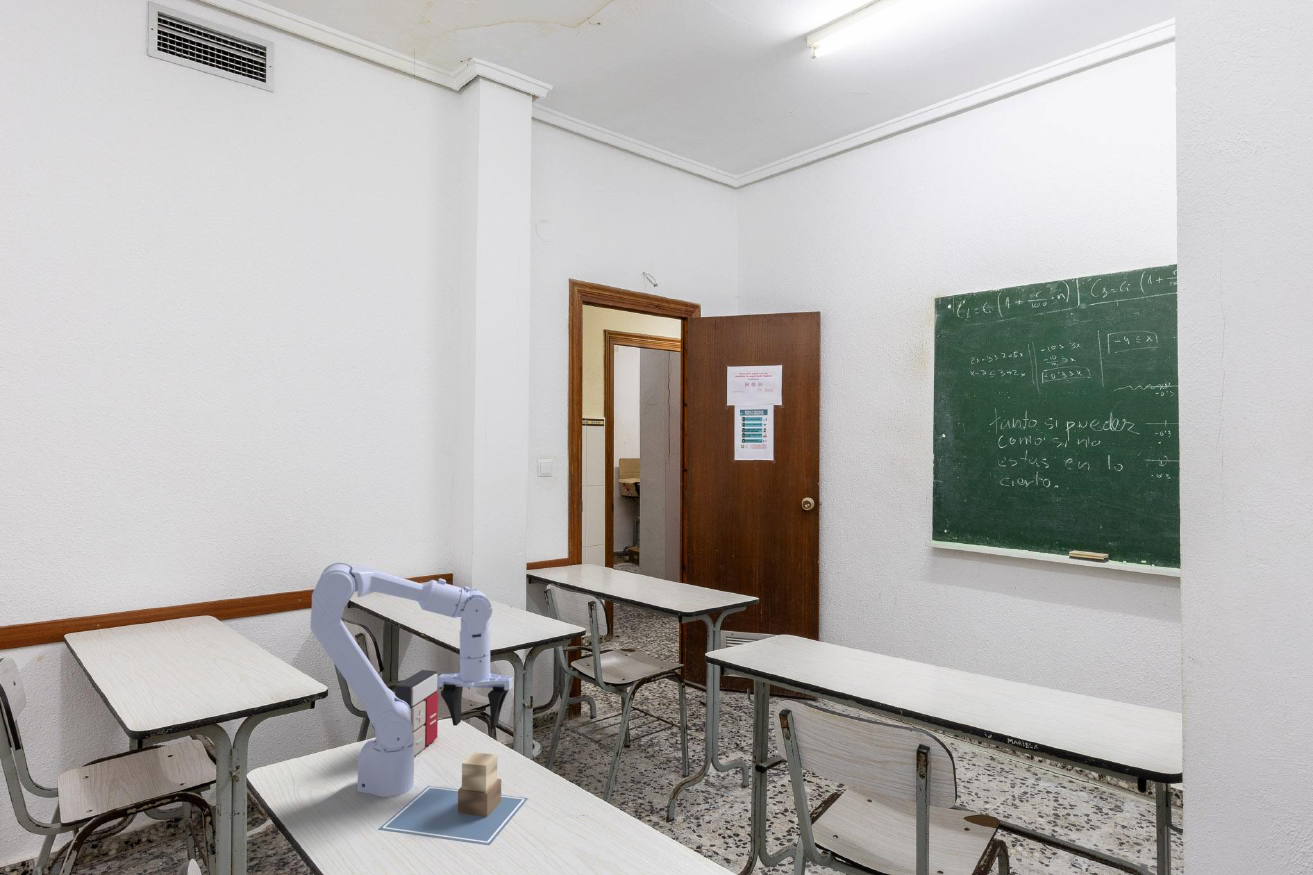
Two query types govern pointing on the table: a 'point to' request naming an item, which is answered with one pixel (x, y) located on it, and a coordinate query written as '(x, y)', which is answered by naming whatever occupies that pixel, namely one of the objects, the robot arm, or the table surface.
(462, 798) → the walnut block
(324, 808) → the table surface
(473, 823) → the board
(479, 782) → the maple cube
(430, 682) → the red and white box
